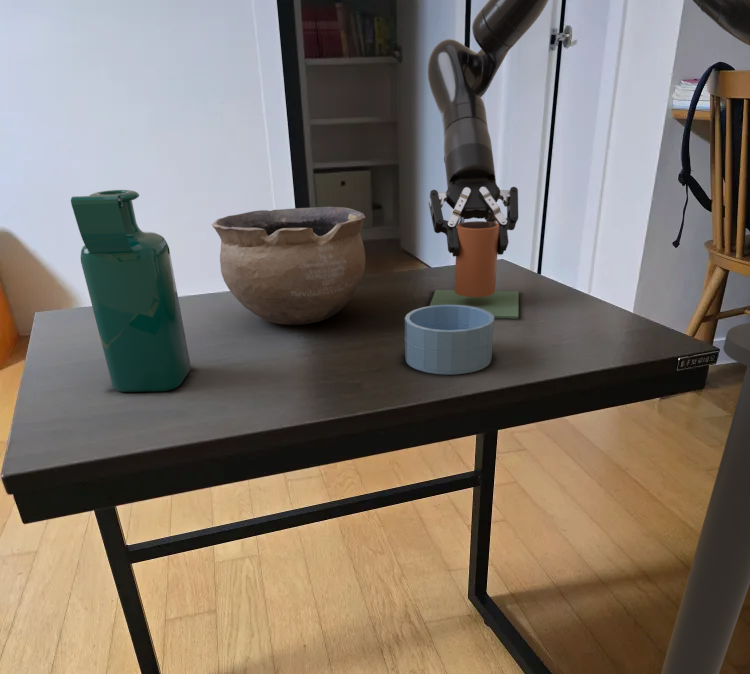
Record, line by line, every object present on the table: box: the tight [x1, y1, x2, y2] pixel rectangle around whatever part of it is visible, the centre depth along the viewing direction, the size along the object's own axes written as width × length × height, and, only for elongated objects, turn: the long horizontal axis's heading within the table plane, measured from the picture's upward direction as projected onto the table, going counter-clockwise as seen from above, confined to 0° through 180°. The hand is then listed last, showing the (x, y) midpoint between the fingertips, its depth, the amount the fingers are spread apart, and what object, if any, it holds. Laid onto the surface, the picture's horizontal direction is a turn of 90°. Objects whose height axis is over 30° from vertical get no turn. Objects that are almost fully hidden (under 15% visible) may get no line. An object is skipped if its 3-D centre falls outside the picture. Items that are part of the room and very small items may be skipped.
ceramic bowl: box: [211, 206, 366, 326], centre depth 101 cm, size 22×22×15 cm
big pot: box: [404, 305, 495, 376], centre depth 86 cm, size 11×11×6 cm
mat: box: [429, 289, 520, 320], centre depth 108 cm, size 14×14×1 cm
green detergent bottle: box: [70, 189, 192, 393], centre depth 78 cm, size 10×8×22 cm
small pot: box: [454, 220, 499, 297], centre depth 104 cm, size 6×6×10 cm
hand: (479, 252), depth 102 cm, fingers closed on small pot, 6 cm apart
